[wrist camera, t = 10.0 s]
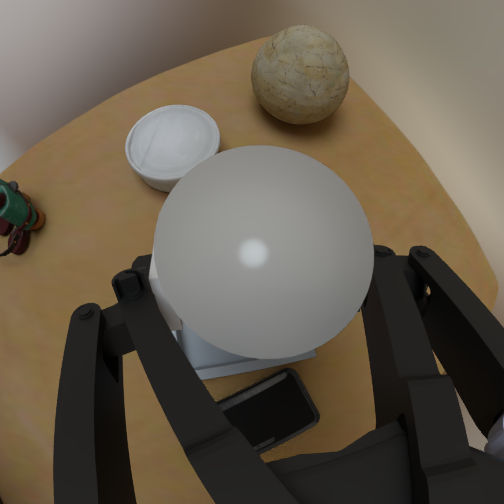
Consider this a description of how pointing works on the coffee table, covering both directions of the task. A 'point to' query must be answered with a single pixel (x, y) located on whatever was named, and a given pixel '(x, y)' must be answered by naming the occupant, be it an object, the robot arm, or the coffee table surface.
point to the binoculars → (17, 217)
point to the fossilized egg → (300, 75)
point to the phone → (271, 410)
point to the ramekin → (171, 144)
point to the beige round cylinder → (263, 252)
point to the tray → (223, 357)
